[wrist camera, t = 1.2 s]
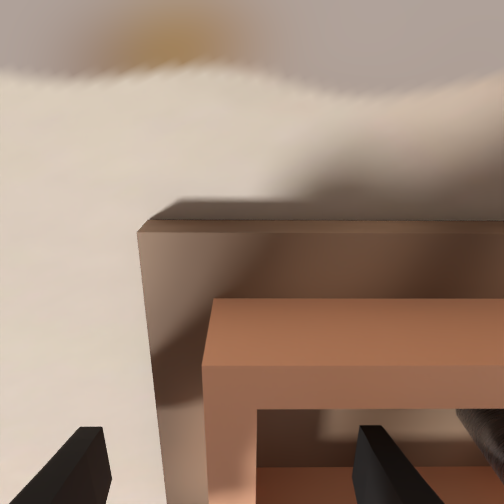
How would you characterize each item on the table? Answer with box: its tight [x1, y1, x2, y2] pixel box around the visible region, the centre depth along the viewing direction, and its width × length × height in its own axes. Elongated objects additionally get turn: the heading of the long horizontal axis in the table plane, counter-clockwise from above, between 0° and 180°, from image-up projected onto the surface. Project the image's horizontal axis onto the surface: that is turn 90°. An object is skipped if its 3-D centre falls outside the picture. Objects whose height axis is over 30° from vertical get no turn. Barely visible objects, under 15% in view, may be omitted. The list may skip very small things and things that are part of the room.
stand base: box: [137, 220, 504, 504], centre depth 13 cm, size 16×12×1 cm
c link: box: [202, 298, 504, 504], centre depth 11 cm, size 12×8×3 cm, turn 90°
